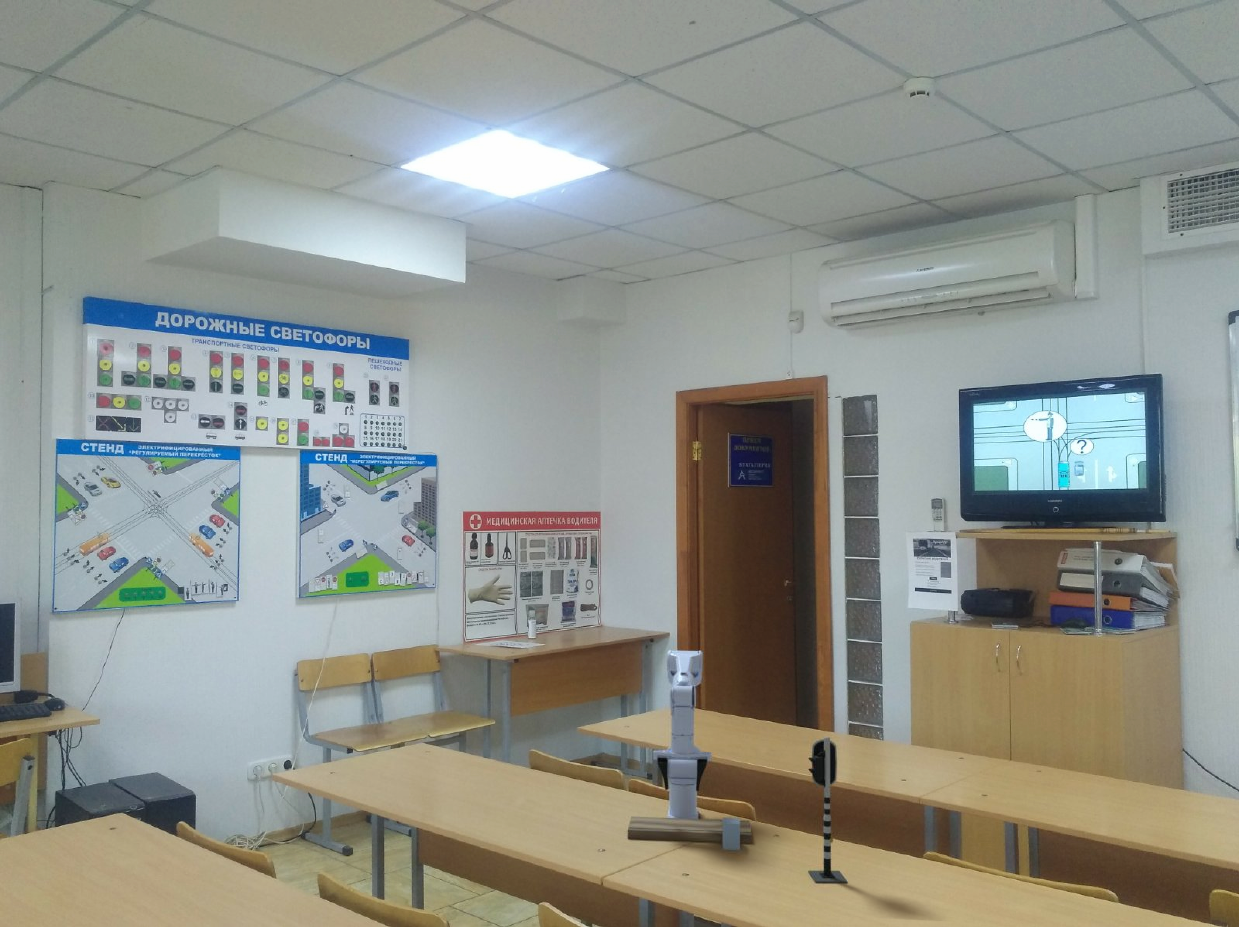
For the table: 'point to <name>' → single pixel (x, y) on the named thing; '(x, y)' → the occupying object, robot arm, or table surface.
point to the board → (683, 829)
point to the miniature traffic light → (825, 802)
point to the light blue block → (731, 833)
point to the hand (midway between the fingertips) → (682, 789)
